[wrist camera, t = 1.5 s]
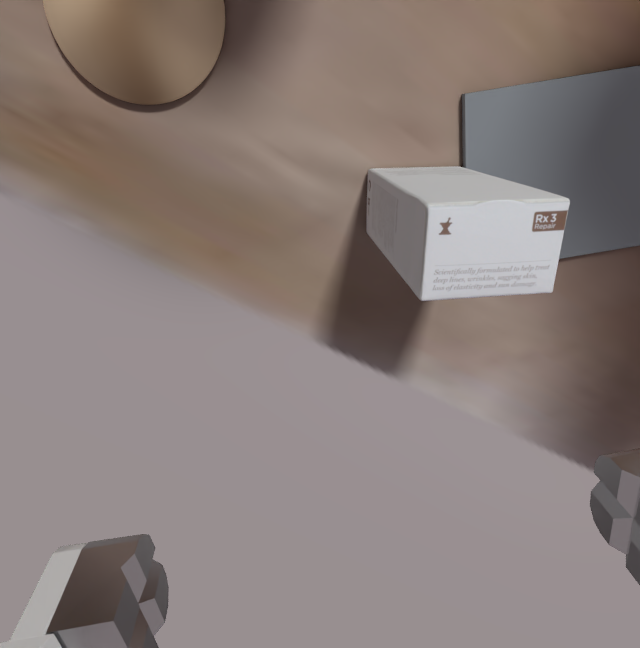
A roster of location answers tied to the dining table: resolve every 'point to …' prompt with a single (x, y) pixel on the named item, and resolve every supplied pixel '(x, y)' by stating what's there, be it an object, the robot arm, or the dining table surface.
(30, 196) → the dining table surface
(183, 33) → the cork coaster
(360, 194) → the dining table surface
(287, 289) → the dining table surface
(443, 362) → the dining table surface
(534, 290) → the skincare box
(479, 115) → the felt mat
